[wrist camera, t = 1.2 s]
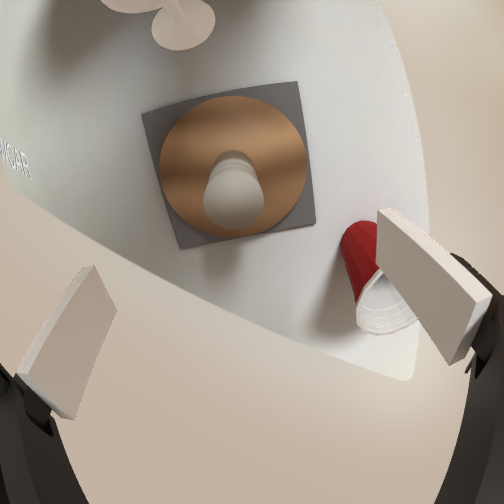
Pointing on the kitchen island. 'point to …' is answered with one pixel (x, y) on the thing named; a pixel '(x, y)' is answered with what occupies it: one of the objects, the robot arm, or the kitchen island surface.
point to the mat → (273, 94)
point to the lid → (233, 166)
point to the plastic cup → (372, 284)
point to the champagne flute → (173, 20)
